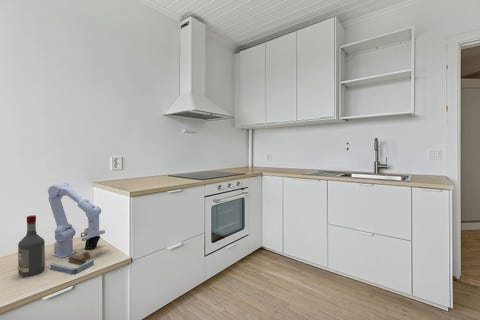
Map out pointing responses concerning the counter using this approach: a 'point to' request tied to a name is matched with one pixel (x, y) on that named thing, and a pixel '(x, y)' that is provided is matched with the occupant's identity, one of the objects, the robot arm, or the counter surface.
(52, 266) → the slate fence
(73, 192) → the robot arm
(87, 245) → the character mug
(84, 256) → the walnut tee
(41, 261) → the liquor
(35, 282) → the counter surface
